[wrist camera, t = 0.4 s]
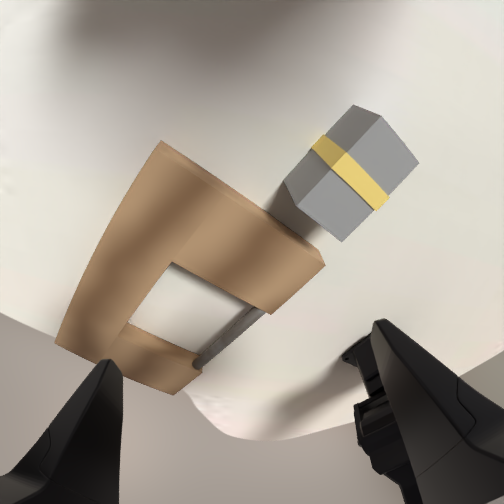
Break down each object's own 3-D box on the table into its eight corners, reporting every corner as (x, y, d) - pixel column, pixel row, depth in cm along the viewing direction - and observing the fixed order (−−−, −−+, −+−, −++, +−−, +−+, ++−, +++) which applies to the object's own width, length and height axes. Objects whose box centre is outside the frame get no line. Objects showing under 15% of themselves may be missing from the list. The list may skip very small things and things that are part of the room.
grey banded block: (389, 145, 19) (420, 164, 16) (324, 213, 22) (343, 244, 19) (352, 103, 18) (380, 115, 14) (282, 179, 20) (295, 205, 17)
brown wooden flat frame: (318, 249, 24) (325, 265, 22) (174, 380, 32) (173, 395, 31) (160, 140, 18) (154, 148, 16) (60, 328, 26) (54, 343, 25)
